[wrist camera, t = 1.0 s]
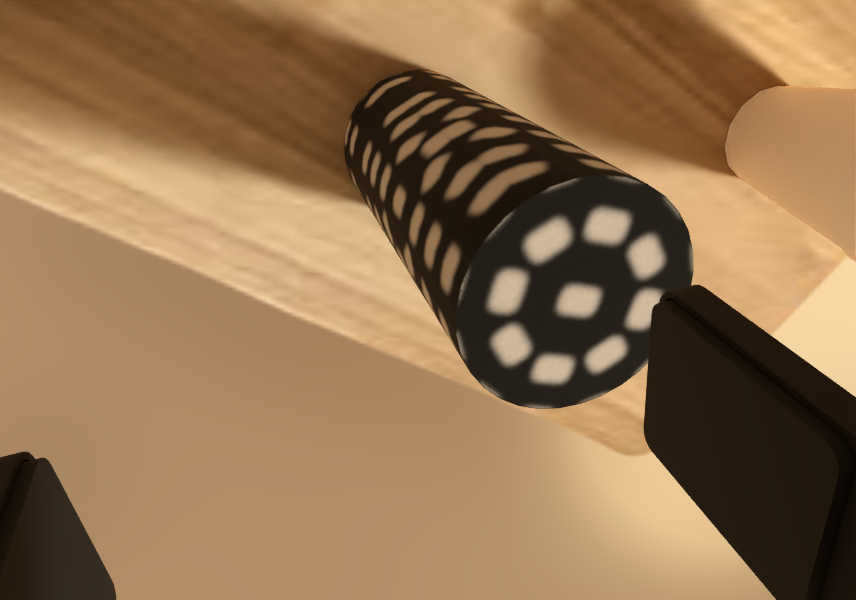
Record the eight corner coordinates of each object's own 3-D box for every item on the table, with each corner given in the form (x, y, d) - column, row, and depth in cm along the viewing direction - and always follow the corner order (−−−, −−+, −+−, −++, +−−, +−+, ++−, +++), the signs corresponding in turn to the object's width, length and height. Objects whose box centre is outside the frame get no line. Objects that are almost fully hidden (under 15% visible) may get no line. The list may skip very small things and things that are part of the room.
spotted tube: (330, 202, 39) (425, 401, 22) (362, 53, 36) (502, 150, 19) (462, 224, 42) (636, 415, 25) (502, 89, 39) (733, 200, 22)
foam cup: (693, 101, 42) (864, 156, 31) (819, 34, 43) (1033, 64, 32) (717, 225, 47) (873, 310, 36) (830, 164, 48) (1018, 229, 37)
